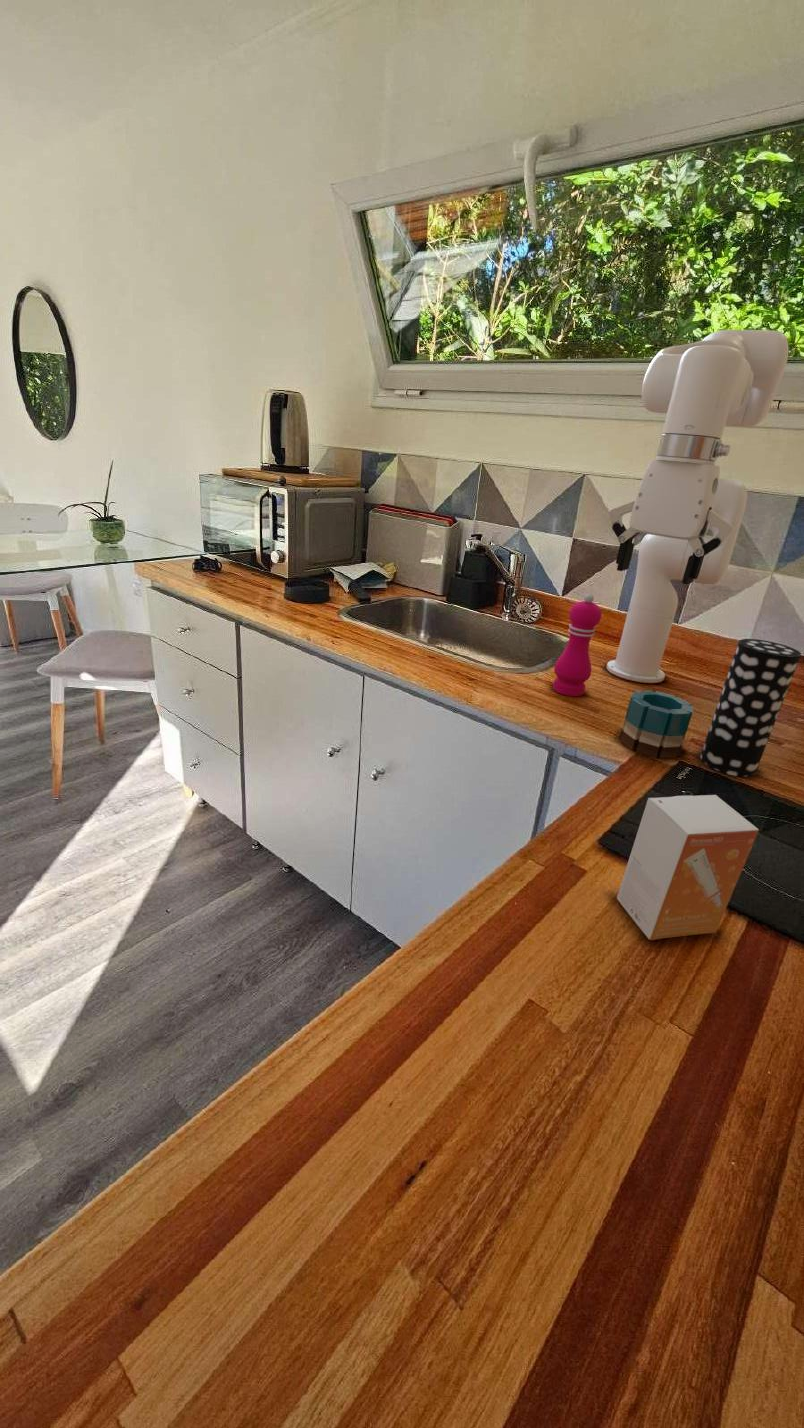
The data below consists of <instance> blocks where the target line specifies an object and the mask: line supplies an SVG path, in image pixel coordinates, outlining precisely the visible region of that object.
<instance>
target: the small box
mask: <svg viewBox="0 0 804 1428" xmlns="http://www.w3.org/2000/svg"><path fill="white" fill-rule="evenodd" d="M759 831H760V829H759V828H758V827H757V826H755V825H754V824H753V823H752V822H750V821H749V820H748V819H746V818H745V817H744V816H743V815H741V814H740V813H739V812H738V811H737V810H735V809H734V808H733V807H732V806H730V805H729V804H728V803H727V802H726V801H724V800H723V799H721V797H719V796H718V795H717V794H705V795H704V794H703V795H701V794H700V795H675V796H663V797H662V796H661V797H648V798H647V801H646V803H645V808H644V811H643V813H642V817H641V820H640V823H639V826H638V829H637V832H636V836H635V839H634V841H633V845H632V848H631V852H630V855H629V858H628V860H627V861H628V862H627V864H626V867H625V871H624V873H623V876H622V880H621V883H620V886H619V889H618V892H617V895H616V900H617V901H618V902H619V903H620V905H621V906H622V908H623V909H624V910H625V911H626V913H627V914H628V916H629V917H630V918H631V919H632V920H633V921H634V923H635V924H636V925H637V927H638V928H639V930H641V932H642V933H643V934H644V935H645V936H646V938H647V939H648V940H649V941H656V940H661V939H668V938H669V939H670V938H679V937H685V936H697V935H706V934H716V932H717V931H718V928H719V926H720V923H721V921H722V919H723V917H724V914H725V911H726V909H727V907H728V904H729V903H730V900H731V898H732V895H733V893H734V890H735V888H736V886H737V883H738V881H739V878H740V877H741V874H742V872H743V869H744V867H745V865H746V862H747V859H748V858H749V855H750V852H751V851H752V848H753V845H754V843H755V841H756V839H757V836H758V834H759Z"/></svg>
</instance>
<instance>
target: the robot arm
mask: <svg viewBox="0 0 804 1428" xmlns="http://www.w3.org/2000/svg"><path fill="white" fill-rule="evenodd" d="M789 352H790V351H789V341H788V338H787V336H786V335H785V334H784V332H782V331H779V330H773V329H771V330H768V329H767V330H762V329H721V330H716V331H714V332H711V333H709V334H708V335H707V336H705V337H704V338H703V339H702V340H699V341H695V342H690V343H684V344H679V345H672V346H668V347H665V348H663V349H661V350H660V351H659V352H658V353H657V354H656V355H655V356H654V357H653V358H652V360H651V361H650V363H649V365H648V367H647V369H646V371H645V374H644V378H643V381H642V386H641V402H642V405H643V407H644V408H645V410H646V411H648V412H650V413H654V414H666V416H665V420H664V423H663V428H662V432H661V436H660V441H659V444H658V449H657V453H656V456H655V459H650V461H649V463H648V465H647V468H646V470H645V473H644V474H643V476H642V480H641V482H640V485H639V488H638V489H637V490H638V491H637V494H636V496H635V499H634V501H630V502H628V503H625V504H622V505H620V506H617V507H614V508H612V509H610V510H609V514H608V515H609V518H610V523H611V525H612V526H611V530H612V531H613V532H614V534H615V536H616V537H617V541H618V543H619V547H618V551H617V556H616V559H615V564H616V565H617V567H616V571H618V572H624V571H627V570H629V568H630V566H631V565H630V564H631V562H632V561H631V560H632V557H633V552H634V549H635V543H634V542H633V540H634V539H635V538H637V537H638V536H639V535H640V534H644V537H643V538H642V540H641V542H640V545H639V548H638V555H637V565H636V572H635V573H636V575H635V579H634V585H633V589H632V593H631V597H630V601H629V602H630V603H629V606H628V609H627V614H626V617H625V622H624V625H623V630H622V632H621V633H622V634H621V638H620V641H619V645H618V649H617V653H616V657H615V659H612V660H609V661H608V662H607V664H606V670H607V671H608V672H609V673H610V674H611V675H614V676H615V677H618V678H621V679H623V680H627V681H632V682H637V683H643V684H657V683H661V682H663V681H664V680H665V677H666V674H665V672H664V671H663V670H661V669H660V667H661V664H662V661H663V657H664V654H665V650H666V648H667V644H668V640H669V636H670V632H671V629H672V625H673V622H674V620H675V616H676V612H677V609H678V605H679V597H678V594H677V591H676V589H675V587H674V586H673V584H672V582H671V581H672V580H675V581H676V580H677V581H681V583H682V585H689V584H692V583H696V584H703V585H715V584H718V583H720V582H721V581H722V580H723V578H724V577H725V575H726V573H727V571H728V568H729V565H730V562H731V558H732V555H733V551H734V549H735V545H736V541H737V538H738V535H739V531H740V527H741V524H742V520H743V518H744V513H745V510H746V507H747V500H748V490H747V487H746V485H745V483H743V482H741V481H740V480H735V479H729V478H720V473H721V472H720V471H721V466H720V465H716V463H717V460H718V459H719V458H720V457H721V458H722V457H728V456H729V454H730V452H731V451H730V450H731V445H729V444H725V443H723V440H722V437H723V434H724V430H725V427H726V426H729V427H741V428H743V427H744V428H749V427H755V426H757V425H759V424H760V423H762V422H763V421H764V419H765V418H766V417H767V416H768V414H769V412H770V409H771V407H772V404H773V401H774V399H775V396H776V393H777V391H778V389H779V386H780V384H781V381H782V379H783V376H784V373H785V370H786V367H787V363H788V358H789ZM627 514H630V517H629V527H628V528H626V526H625V525H624V523H623V517H624V515H627ZM709 530H710V531H711V533H712V535H710V534H709V535H708V534H707V533H708V531H709Z"/></svg>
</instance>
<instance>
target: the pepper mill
mask: <svg viewBox="0 0 804 1428" xmlns="http://www.w3.org/2000/svg"><path fill="white" fill-rule="evenodd" d="M594 599H595V596H594V595H593V594H592V593H586V594H585V595H584V597H583V600H582V601H578V602H576V603H574V604H573V605H572V606H571V608H570V610H569V613H568V619H569V621H570V622H571V623H570V624H569V625H568V629H567V632H568V633H569V638H568V642H567V645H566V647H565V649H563V652H561V654H560V655H559V657H558V659H557V660H556V662H555V664H554V668H553V671H554V674H555V676H556V678H555V679H554V680H553V684H552V689H553V690H554V692H556V693H558V694H561V695H563V696H568V697H580V696H583V695H584V693H585V689H586V684H585V682H587V681H588V680H589V679H590V678H591V675H592V663H591V659H590V652H589V648H590V643H591V639H592V637H594V636H595V631H596V628H595V627H597V625H598V624H600V622H601V619H602V610H601V608H600V607H599V605H598V604H596V603H595V602H594Z"/></svg>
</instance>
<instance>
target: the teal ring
mask: <svg viewBox="0 0 804 1428" xmlns="http://www.w3.org/2000/svg"><path fill="white" fill-rule="evenodd" d="M694 708H695V706H694V705H693V704H692V703H690V702H689V701H687V700H685V699H683V698H681V697H680V696H676V695H674V694H672V693H671V694H670V693H666V692H662V691H658V690H655V691H653V690H635V691H633V692H632V694H631V696H630V699H629V702H628V706H627V710H626V714H625V717H624V720H625V719H626V721H628V722H629V723H631V724H632V725H634V726H635V727H636V728H638V729H641V728H643V729H642V731H646V732H650V733H653V734H657V735H661V736H663V734H664V735H666V736H667V737H668V736H683V735H684V734H686V735H687V732H688V729H689V726H690V722H691V719H692V716H693V713H694Z"/></svg>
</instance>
